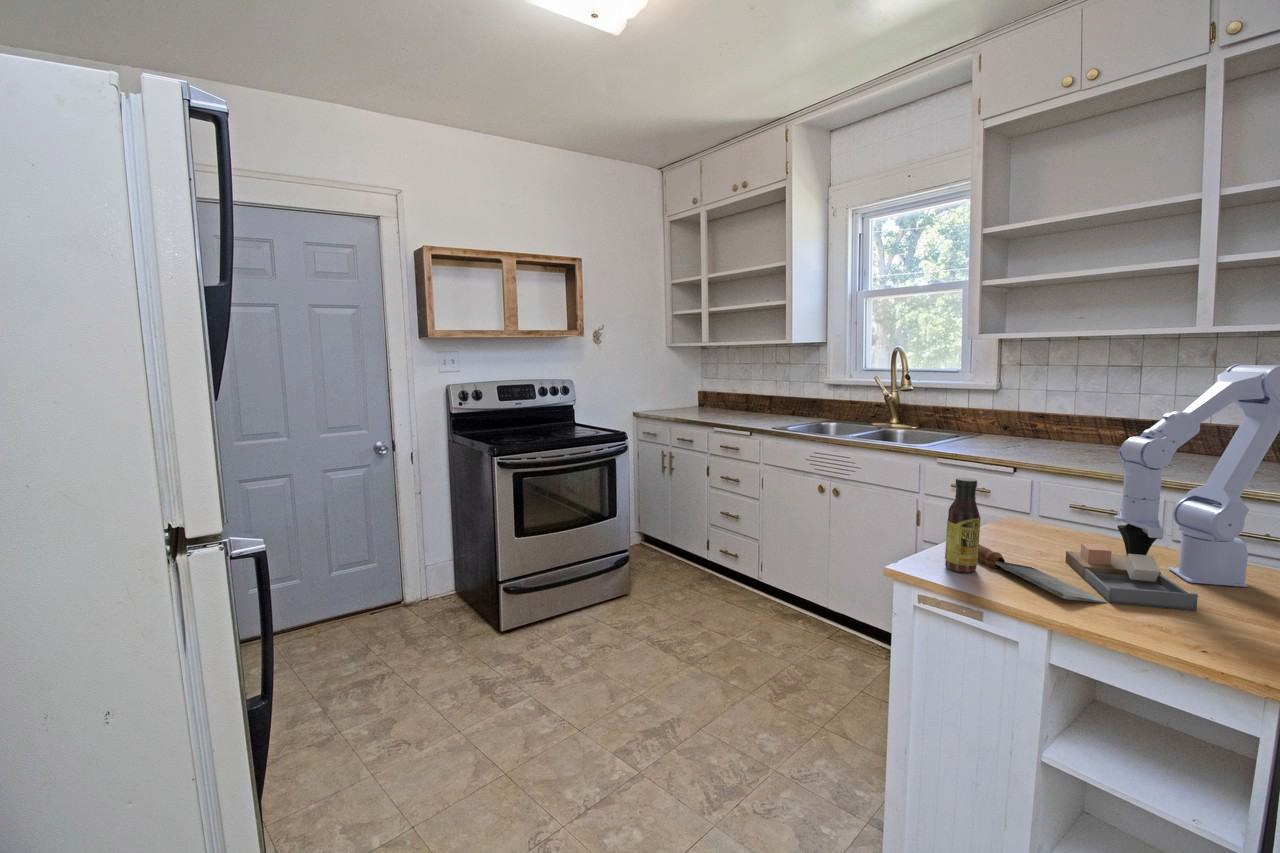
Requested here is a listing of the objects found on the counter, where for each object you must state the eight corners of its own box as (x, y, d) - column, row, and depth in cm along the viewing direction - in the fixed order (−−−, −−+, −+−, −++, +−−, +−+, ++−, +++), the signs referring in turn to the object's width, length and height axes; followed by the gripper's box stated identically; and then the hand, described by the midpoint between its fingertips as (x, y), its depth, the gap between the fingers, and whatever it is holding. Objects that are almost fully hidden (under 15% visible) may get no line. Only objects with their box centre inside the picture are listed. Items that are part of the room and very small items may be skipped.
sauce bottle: (962, 576, 126) (966, 483, 124) (937, 566, 132) (941, 478, 130) (984, 571, 129) (989, 480, 126) (959, 562, 134) (963, 475, 132)
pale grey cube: (1148, 565, 121) (1152, 555, 119) (1155, 581, 118) (1160, 571, 116) (1124, 563, 122) (1128, 553, 120) (1130, 579, 119) (1134, 569, 117)
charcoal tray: (1160, 585, 119) (1162, 570, 119) (1196, 611, 108) (1197, 595, 107) (1083, 579, 123) (1084, 564, 123) (1109, 603, 111) (1111, 587, 111)
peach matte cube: (1102, 558, 128) (1103, 544, 127) (1110, 564, 124) (1111, 550, 123) (1080, 556, 129) (1081, 543, 128) (1087, 563, 125) (1088, 549, 125)
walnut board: (1136, 567, 129) (1136, 555, 129) (1159, 584, 120) (1161, 572, 119) (1065, 562, 133) (1066, 551, 133) (1083, 578, 123) (1083, 566, 123)
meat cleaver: (1117, 604, 112) (1119, 583, 112) (1062, 608, 111) (1063, 587, 110) (991, 548, 145) (992, 532, 145) (948, 551, 144) (949, 534, 144)
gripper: (1102, 487, 128) (1097, 549, 130) (1133, 504, 115) (1127, 572, 116) (1142, 489, 126) (1136, 551, 128) (1179, 506, 112) (1172, 576, 114)
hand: (1135, 562), depth 122 cm, fingers closed
